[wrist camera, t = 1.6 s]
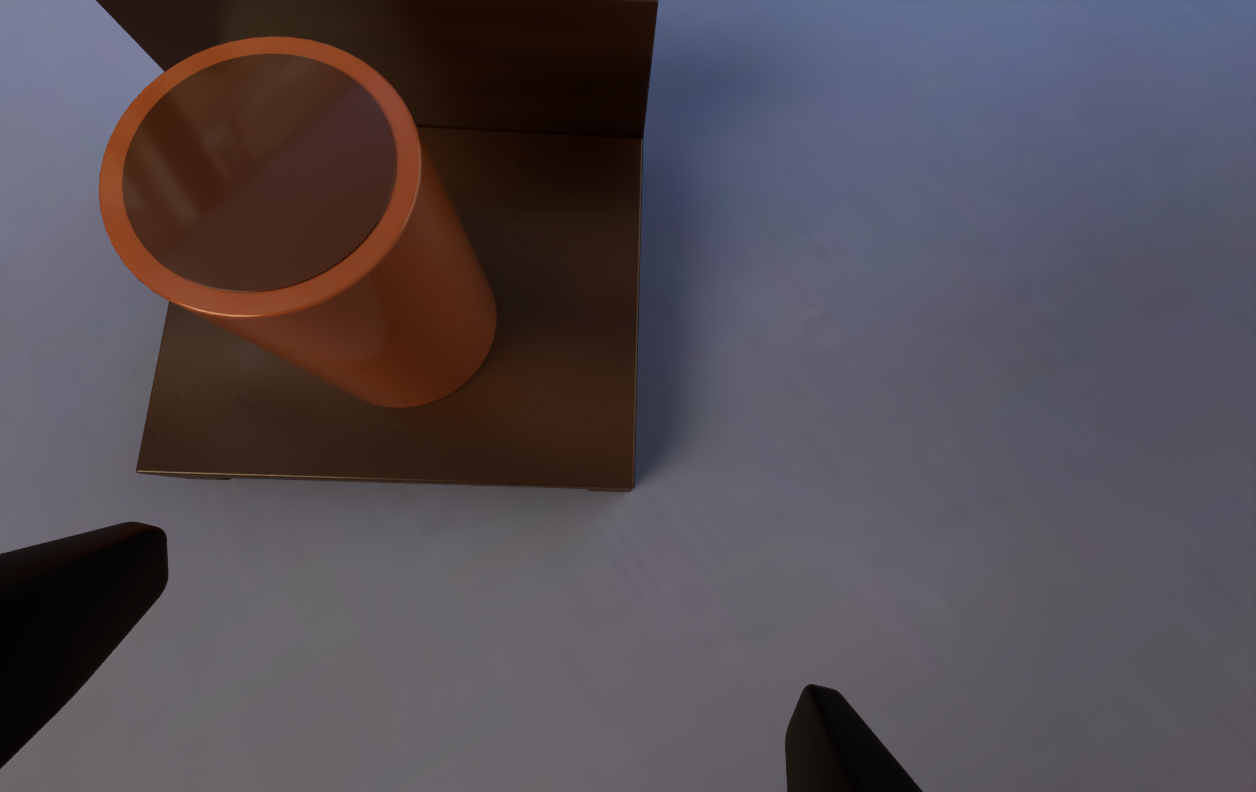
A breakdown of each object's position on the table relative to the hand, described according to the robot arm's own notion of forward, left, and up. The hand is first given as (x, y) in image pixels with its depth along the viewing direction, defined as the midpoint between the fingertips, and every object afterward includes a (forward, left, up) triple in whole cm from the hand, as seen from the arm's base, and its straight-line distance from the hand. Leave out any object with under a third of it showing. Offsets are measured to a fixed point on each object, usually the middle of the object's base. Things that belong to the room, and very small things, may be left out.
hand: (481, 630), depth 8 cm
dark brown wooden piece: (+4, +10, -14) cm, 18 cm away
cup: (+3, +9, -11) cm, 15 cm away
